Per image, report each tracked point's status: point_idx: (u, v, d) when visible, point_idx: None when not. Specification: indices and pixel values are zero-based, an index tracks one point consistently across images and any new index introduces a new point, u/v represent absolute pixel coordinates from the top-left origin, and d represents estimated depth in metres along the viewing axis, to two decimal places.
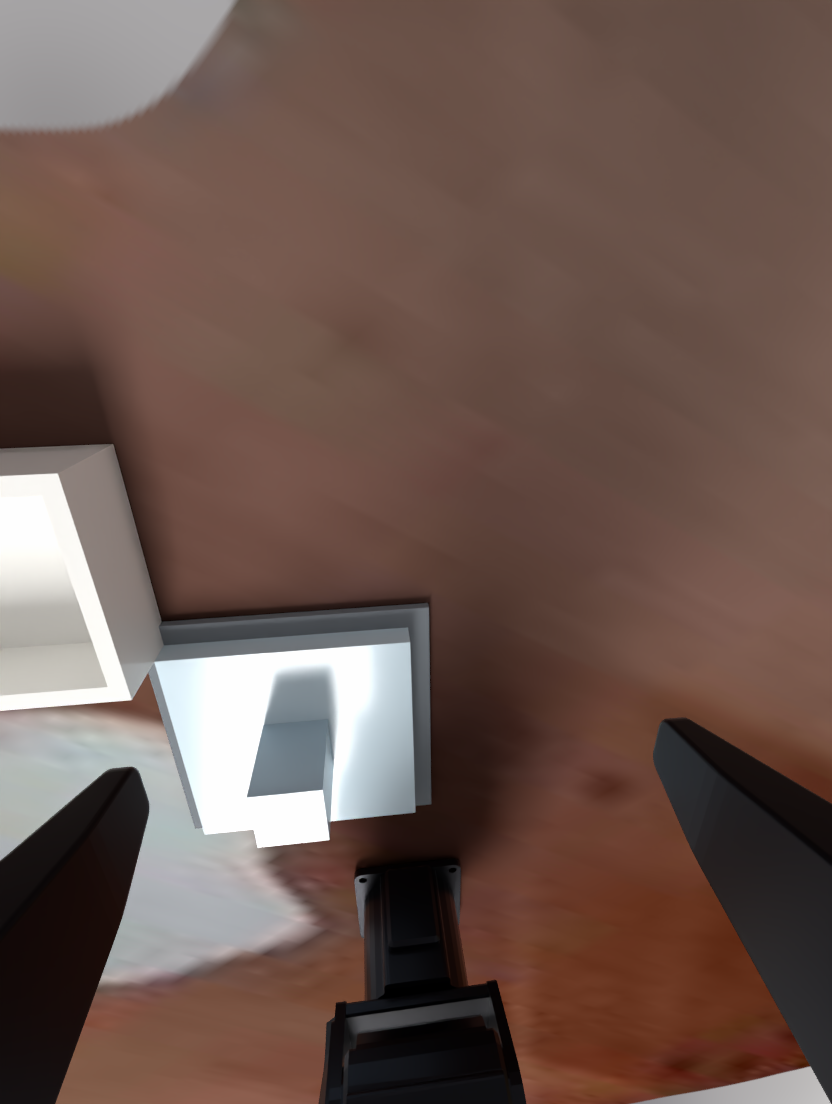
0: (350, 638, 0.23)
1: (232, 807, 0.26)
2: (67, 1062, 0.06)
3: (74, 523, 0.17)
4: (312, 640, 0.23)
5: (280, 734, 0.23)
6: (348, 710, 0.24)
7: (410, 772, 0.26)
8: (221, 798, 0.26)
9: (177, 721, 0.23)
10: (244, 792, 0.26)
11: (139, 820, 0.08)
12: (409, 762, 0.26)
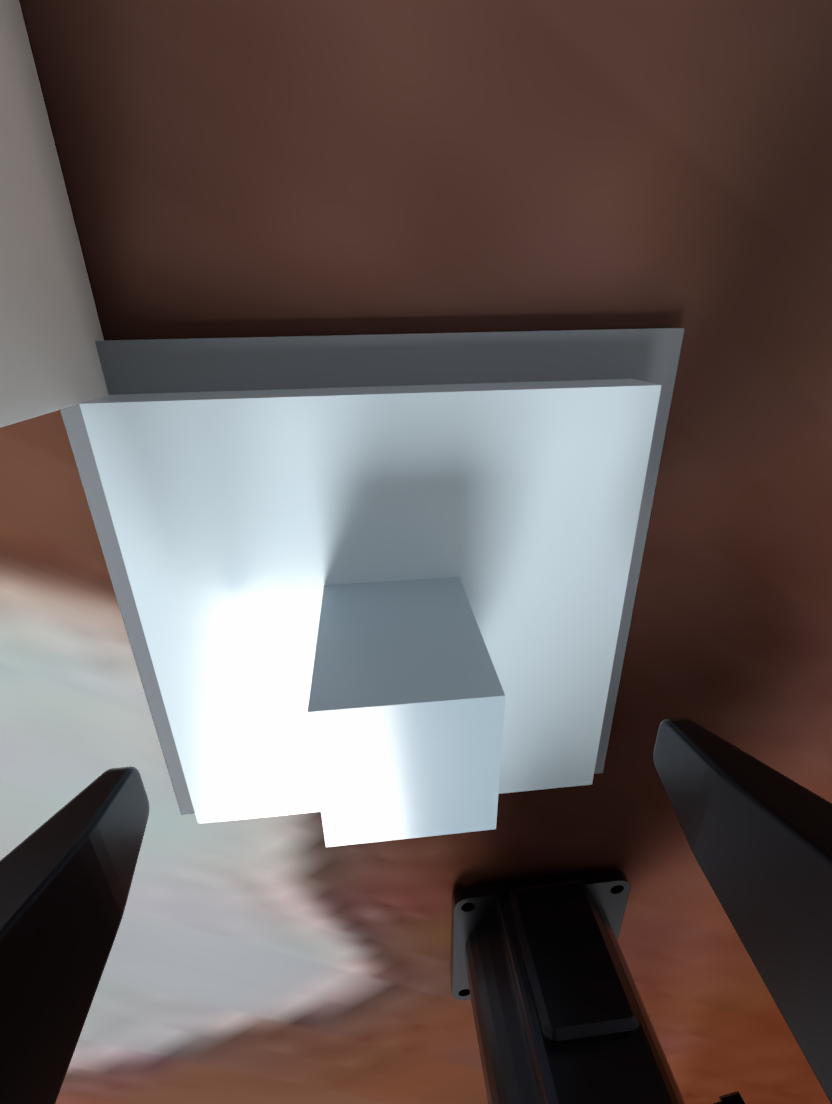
0: (521, 385, 0.11)
1: (253, 770, 0.13)
2: (66, 1062, 0.06)
3: None
4: (438, 387, 0.10)
5: (365, 599, 0.11)
6: (503, 557, 0.11)
7: (598, 702, 0.13)
8: (232, 751, 0.13)
9: (139, 570, 0.11)
10: (277, 739, 0.13)
11: (139, 820, 0.08)
12: (601, 681, 0.13)
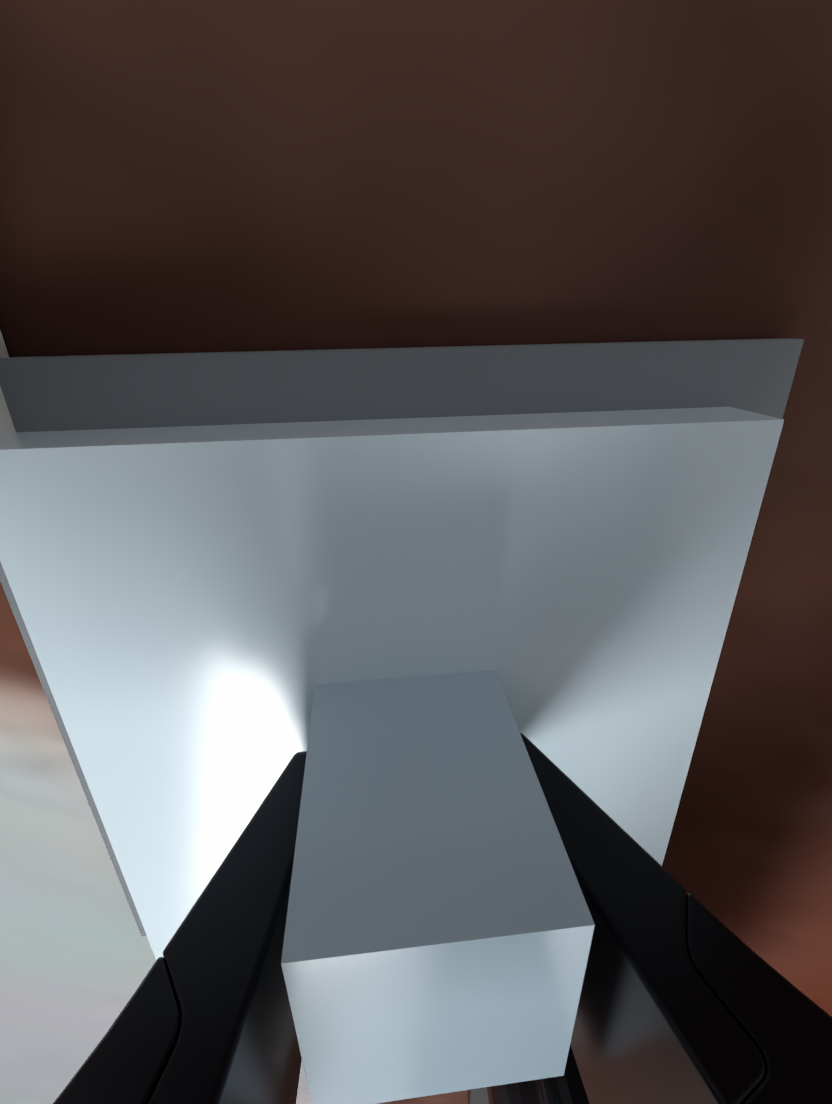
0: (585, 418, 0.08)
1: None
2: None
3: None
4: (472, 421, 0.08)
5: (370, 710, 0.08)
6: (554, 645, 0.09)
7: (666, 813, 0.11)
8: (198, 882, 0.10)
9: (61, 670, 0.08)
10: None
11: None
12: (672, 789, 0.10)
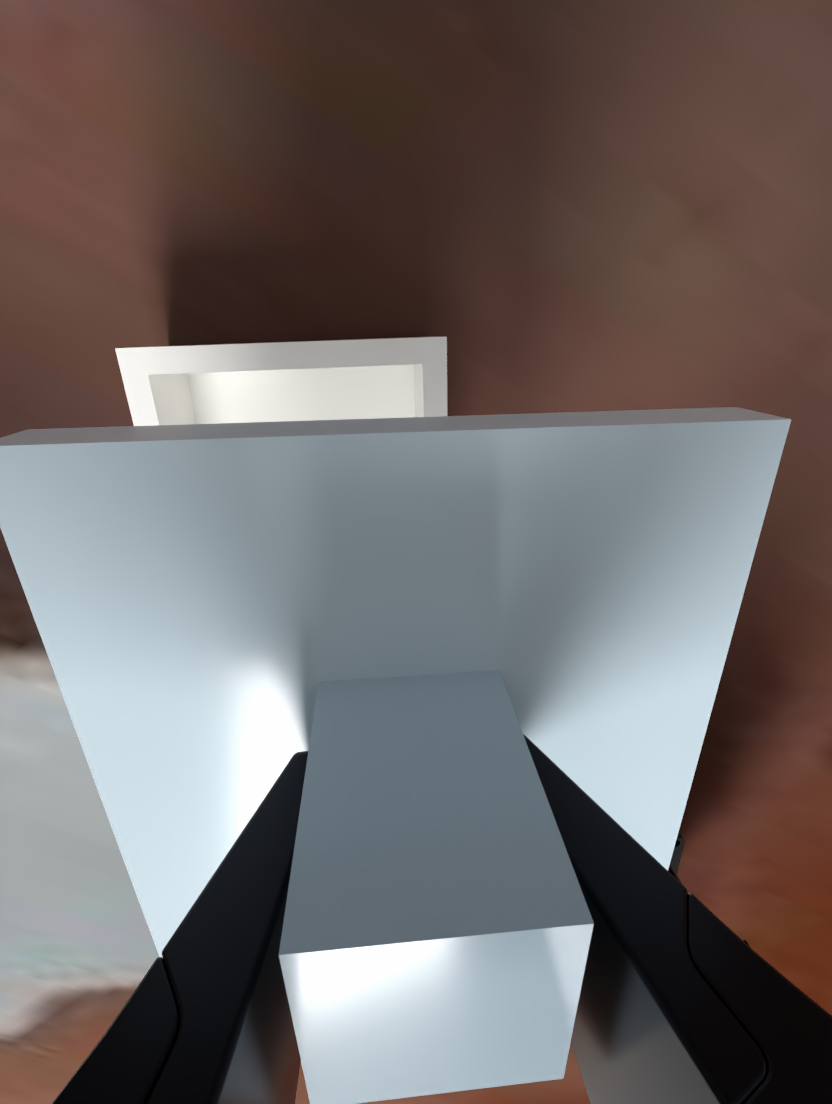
0: (590, 418, 0.08)
1: None
2: None
3: (446, 399, 0.15)
4: (477, 420, 0.08)
5: (373, 708, 0.08)
6: (558, 645, 0.09)
7: (672, 818, 0.10)
8: (201, 878, 0.10)
9: (68, 664, 0.08)
10: None
11: None
12: (678, 793, 0.10)
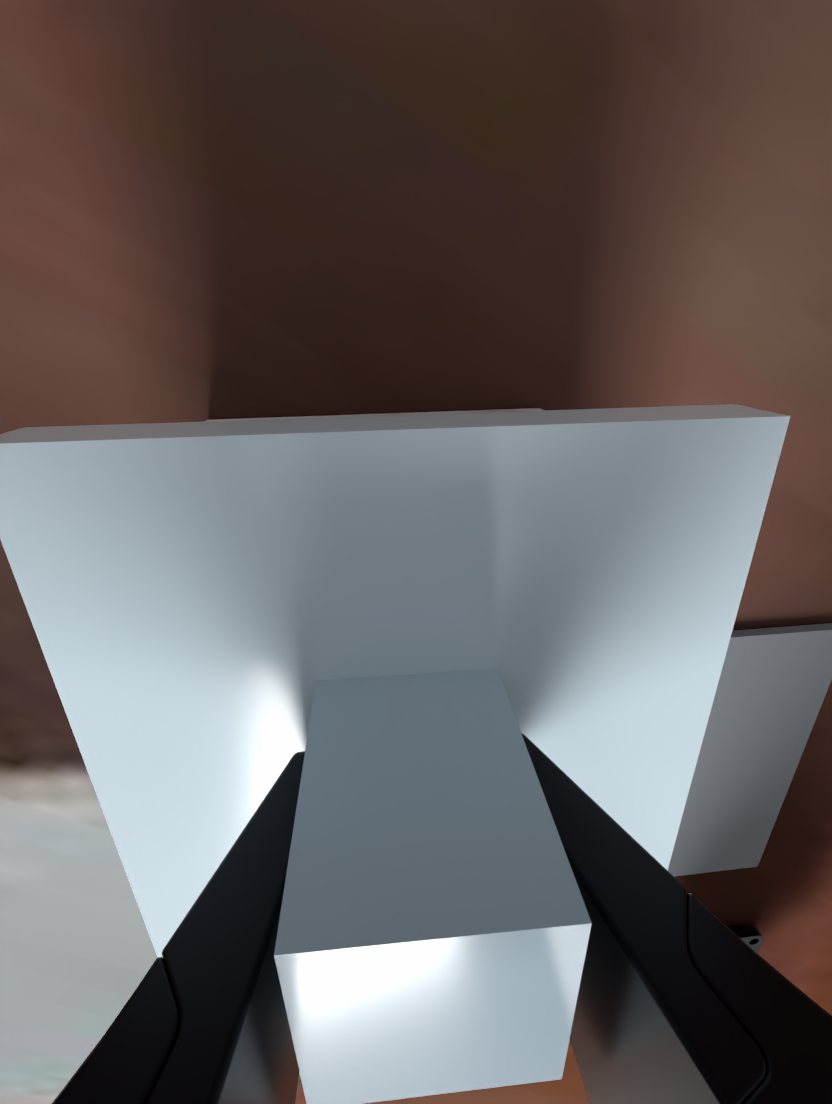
0: (588, 415, 0.08)
1: None
2: None
3: None
4: (474, 417, 0.08)
5: (370, 707, 0.08)
6: (557, 644, 0.08)
7: (672, 817, 0.10)
8: (199, 879, 0.10)
9: (65, 663, 0.08)
10: None
11: None
12: (677, 793, 0.10)
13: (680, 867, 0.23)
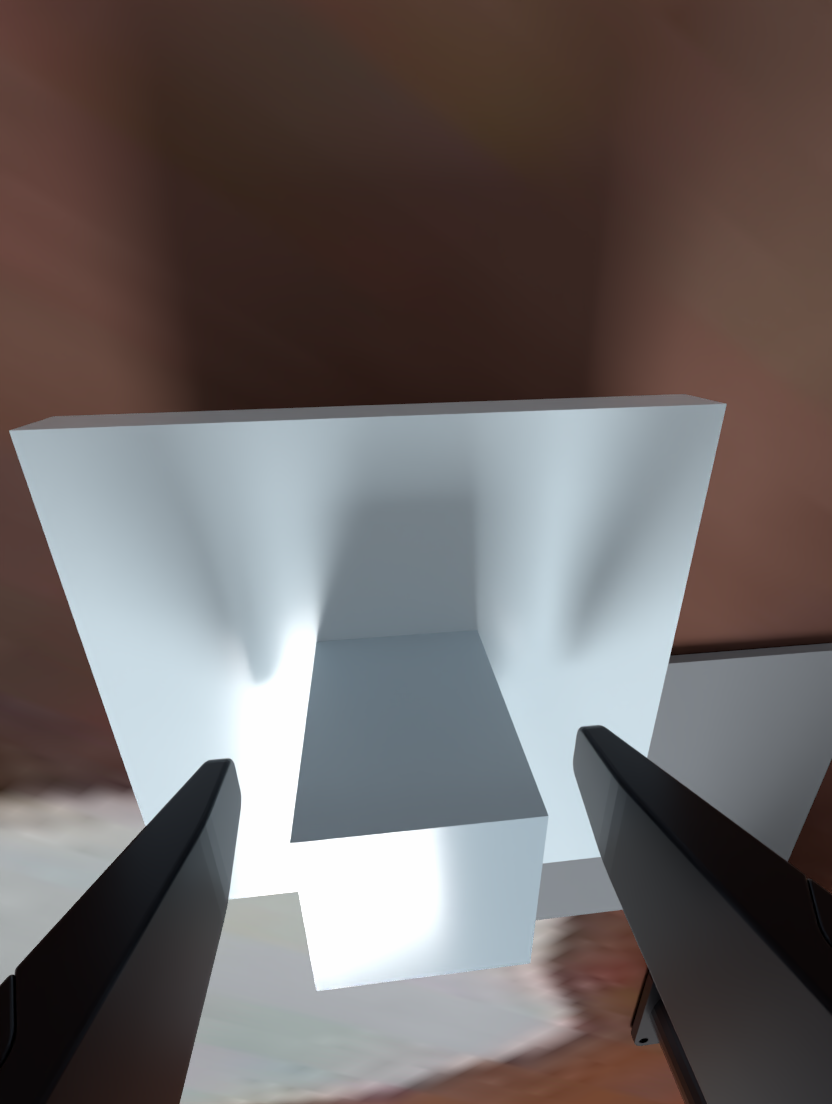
0: (554, 403, 0.09)
1: None
2: (191, 1045, 0.07)
3: None
4: (454, 406, 0.09)
5: (365, 661, 0.09)
6: (529, 607, 0.10)
7: None
8: None
9: (92, 627, 0.09)
10: (263, 813, 0.11)
11: (235, 811, 0.08)
12: (640, 743, 0.11)
13: None
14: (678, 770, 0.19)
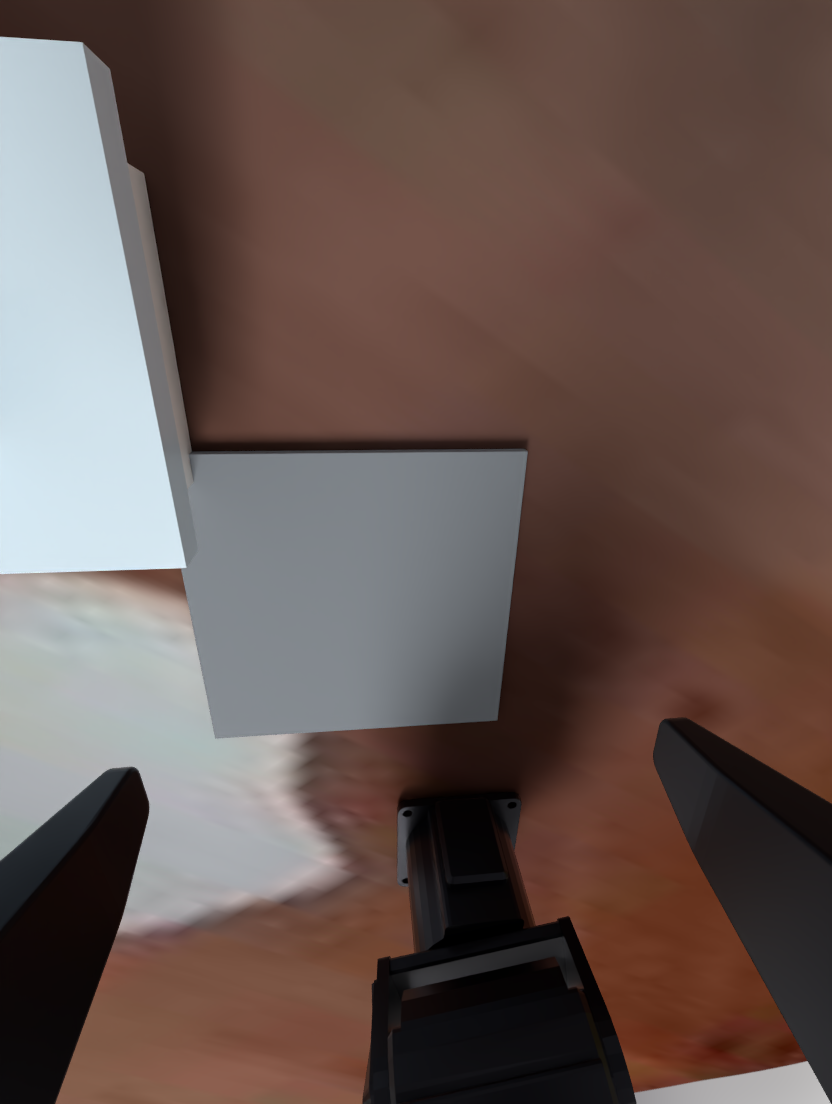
0: None
1: None
2: (66, 1062, 0.06)
3: None
4: None
5: None
6: None
7: (156, 462, 0.13)
8: None
9: None
10: None
11: (139, 820, 0.08)
12: (150, 434, 0.13)
13: (416, 715, 0.24)
14: (363, 575, 0.20)
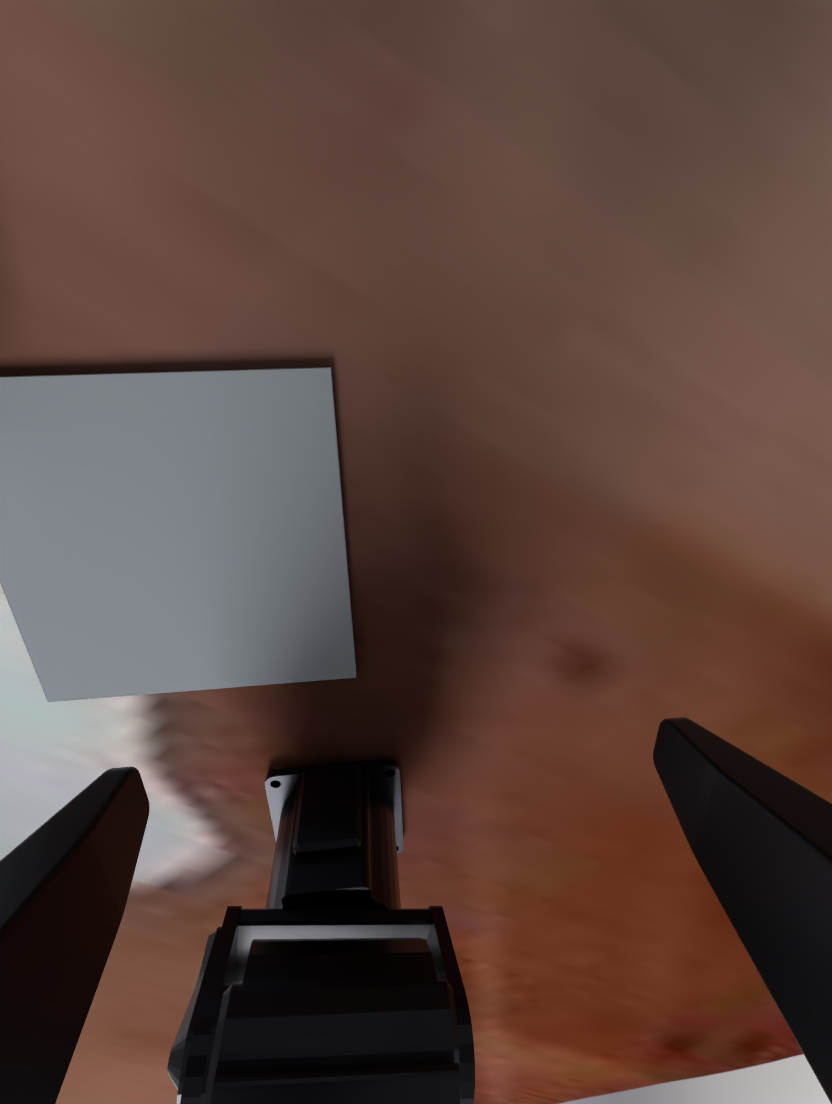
0: None
1: None
2: (66, 1062, 0.06)
3: None
4: None
5: None
6: None
7: None
8: None
9: None
10: None
11: (139, 820, 0.08)
12: None
13: (265, 673, 0.22)
14: (174, 514, 0.19)
